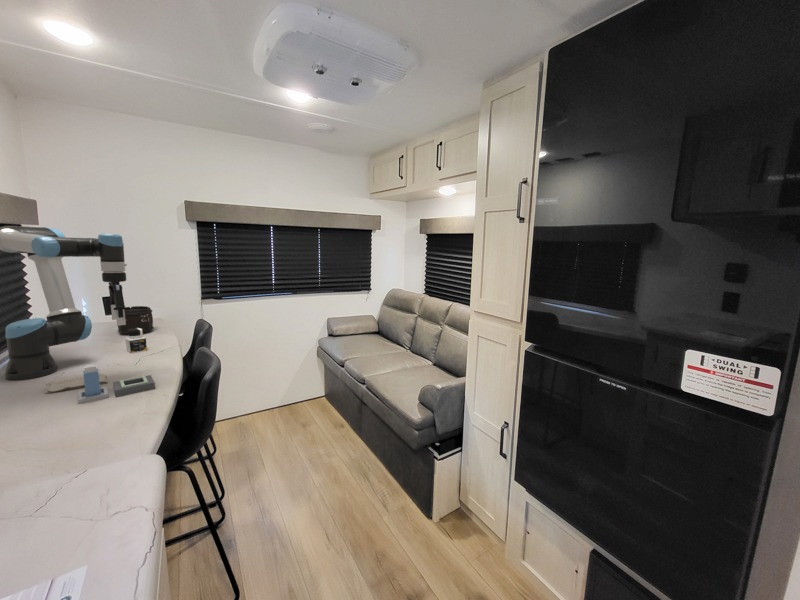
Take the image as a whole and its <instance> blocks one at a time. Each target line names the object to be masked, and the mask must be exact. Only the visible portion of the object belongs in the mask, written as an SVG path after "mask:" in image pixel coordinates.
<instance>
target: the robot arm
mask: <svg viewBox="0 0 800 600" xmlns="http://www.w3.org/2000/svg"><path fill="white" fill-rule="evenodd" d="M123 241H124V240H123V236H122V235H120V234H115V233H114V234H113V233H99V234H98V236H97V238H96V237H95V238H94V237H66V235H65V234H64V233H63V232H62V231H61V230H59V229H57V228H52V227H46V226H44V227H43V226H41V227H40V226H39V227H36V226H22V225H20V226H18V225H4V226H0V251H1V252H5V253H11V254H13V253H14V254H26V255H27V258H28V260H31V261H33V262H34V265H35V267H36V271H37V275H38V278H39V281H40V285H41V287H42V291H43V295H44V298H45V301H46V304H47V308H48V311H49V313H48V314H47V315H46V317H45V318H43V317H35V318H26V319H21V320H17V321H14V322H11V323H9V324H8V325H6V326H5V335H4V338H5V339H6V346H7V352H8V362H7V365H6V368H5V372H4V378H5V379H6V380H8V381H21V380H29V379H36V378H41V377H44V376H48V375H51V374H53V373H56V372H57V371H58V365H57V362H56V361H55V359H54V357H53V356H52V354H51V353H50V352H51V351H50V347H54V346H59V345H65V344H69V343H75V342H79V341H83V340H86V339H87V338H89V336H90V335H91V332H92V328H93V327H92V325H93V324H92V320H91V319H90V318H89V316H88V315H85V314H83V313H82V311H81V310H79V309H77V308H76V304H75V302H74V298H73V295H72V292H71V288H70V285H69V281H68V278H67V274H66V271H65V268H64V265H63V261H62V259H63V258H64V257H67V258H69V257H72V258H73V257H77V258H78V257H79V258H82V257H85V258H86V257H88V258H89V257H92V258H93V257H94V258H95V257H97V258H99V259H100V260H99V261H100V262H99V263H100V270H101V272H102V273H101V276H102V277H101V278H102V282H104V283H108V292H109V303H110V310H111V320H112V321H115V320H116V326H117V327H118V326H119V325H126V322H125V311H124V308H125V307H126V305H125V301H124V295H123V294H124V293H123V285H122V284H120V283H122V282H123V283H124V282H126V281H127V273H126V267H127V263H125V250H124V248H125V247H124V242H123Z"/></svg>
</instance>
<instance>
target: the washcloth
mask: <svg viewBox="0 0 800 600" xmlns="http://www.w3.org/2000/svg"><path fill="white" fill-rule="evenodd" d="M107 379H108V375H107V374H106V373H99V383H100V385H105V384H108V383H109V382H108V380H107ZM82 388H85V385H84V376H83V375H82V376H78V377H73V378H66V379H60V380H53V381H50V382H49V383H47V384H46V388H45V390H44V394H45V395H47V394H52V393H57V392H63V391H64V392H65V391H70V390H76V389H82Z"/></svg>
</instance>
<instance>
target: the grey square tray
mask: <svg viewBox="0 0 800 600" xmlns="http://www.w3.org/2000/svg"><path fill="white" fill-rule="evenodd" d="M100 392H101V394H100V395H95V396H90V397H86V394H85V390H83V391H78V392H77V400H78V405H79V404H80V405H81V404H85V403H90V402H94V401H99V400H103V399H104V400H105V399H108V398H110V397H109V391H108V387H107V386H103V387H100Z"/></svg>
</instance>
